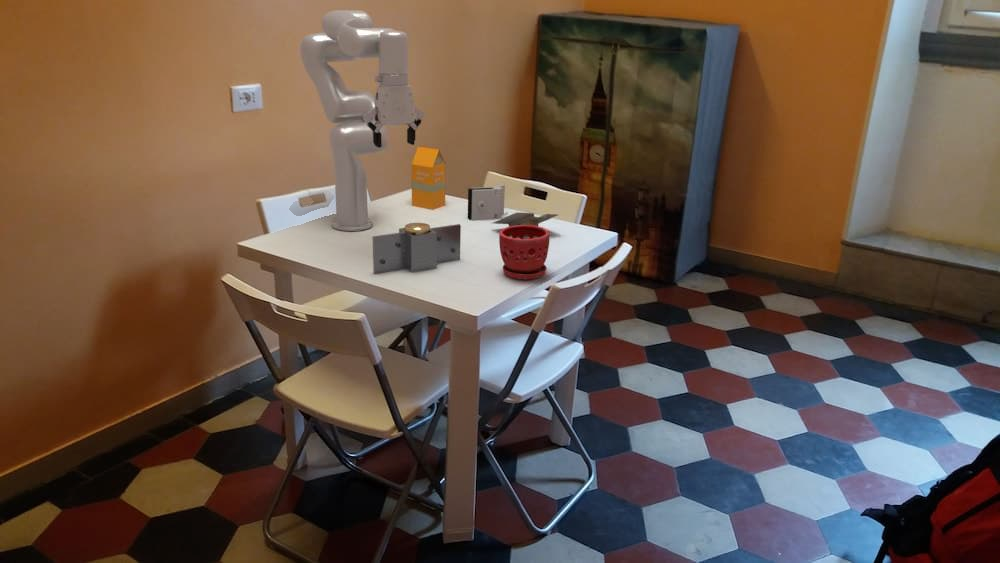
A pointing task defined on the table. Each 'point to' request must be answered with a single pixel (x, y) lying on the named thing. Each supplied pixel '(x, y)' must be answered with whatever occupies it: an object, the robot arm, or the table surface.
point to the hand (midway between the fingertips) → (394, 145)
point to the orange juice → (428, 178)
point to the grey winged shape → (524, 219)
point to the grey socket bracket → (416, 249)
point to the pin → (417, 228)
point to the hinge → (486, 203)
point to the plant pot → (524, 251)
